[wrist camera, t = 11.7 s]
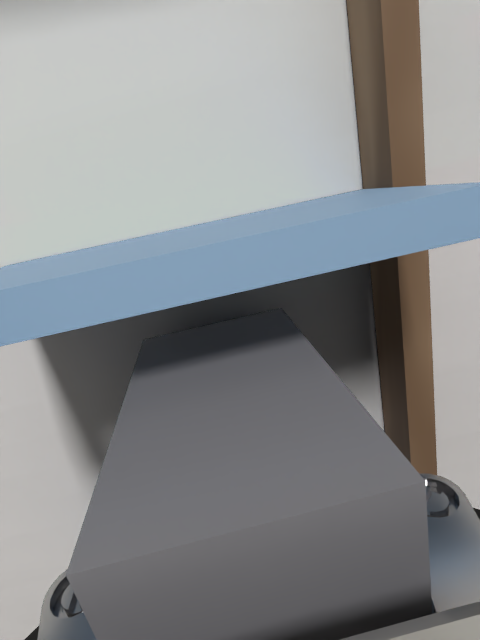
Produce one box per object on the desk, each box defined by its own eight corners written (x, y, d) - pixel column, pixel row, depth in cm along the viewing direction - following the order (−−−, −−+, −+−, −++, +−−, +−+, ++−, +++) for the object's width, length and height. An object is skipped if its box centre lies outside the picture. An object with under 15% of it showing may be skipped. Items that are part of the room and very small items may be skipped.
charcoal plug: (281, 307, 12) (425, 481, 5) (310, 480, 15) (441, 784, 7) (143, 339, 12) (65, 576, 5) (195, 509, 14) (200, 858, 7)
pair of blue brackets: (361, 167, 13) (547, 132, 6) (391, 502, 17) (515, 690, 11) (-2, 244, 12) (-236, 298, 5) (129, 571, 17) (89, 817, 10)
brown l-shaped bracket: (356, -338, 9) (473, -711, 5) (411, 485, 17) (473, 565, 13) (-206, -263, 8) (-524, -634, 5) (124, 560, 16) (105, 668, 13)
